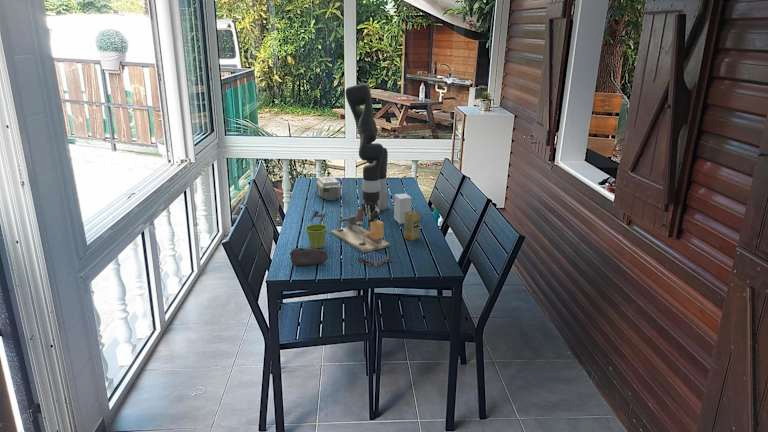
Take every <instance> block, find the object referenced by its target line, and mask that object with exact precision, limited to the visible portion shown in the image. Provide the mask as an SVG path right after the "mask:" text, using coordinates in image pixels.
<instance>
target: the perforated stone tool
mask: <svg viewBox="0 0 768 432" xmlns="http://www.w3.org/2000/svg"><path fill="white" fill-rule="evenodd" d="M289 254H290V255H289V256H290V257H289V259H290V262H291V264H292V265H293V266H311V265H317V264H322V263H325V262H326V261H327V260H328V259H329V255H328V253H327V252H326V251H324V250H322V249H321V248H316V249H314V248H311V247H309V248H308V247H305V248H304V247H297V248H292V250H291V252H289Z"/></svg>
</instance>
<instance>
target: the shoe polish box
mask: <svg viewBox="0 0 768 432" xmlns="http://www.w3.org/2000/svg"><path fill="white" fill-rule="evenodd" d="M420 220H421V213H420V212H418V211H414V210H411V211H409V212H406V213H404V223H403V225H404V226H403V227H404V228H403V238H404V239H407V240H409V241H414V240H417V239H419V238H420V226H421V224H420V222H421V221H420Z"/></svg>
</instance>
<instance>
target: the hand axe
mask: <svg viewBox="0 0 768 432" xmlns="http://www.w3.org/2000/svg"><path fill="white" fill-rule="evenodd" d="M357 212H358V213H357V215H356V225H358V226H360V227H363V225H364V223H363V221H362V219H363V218H362V216H363V212H364V211H363V208H362V207H361V208H359V209H358V210H357ZM346 227H348V224H347V226H346Z"/></svg>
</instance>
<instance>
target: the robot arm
mask: <svg viewBox="0 0 768 432" xmlns="http://www.w3.org/2000/svg"><path fill="white" fill-rule="evenodd" d="M345 98H346V100H347V101H346V102H347V104H348V105H349V108H350V110H351V113H352V115H353V116H352V117H353V118H354V121H355V125H356V126H355V127H356V129H357V132H358V136H359V141H360V142H359V149H358V156H359V158H360V159H361V160H362V161H364V162H365V161H366V162H367V165H364V166H363V168H362V187H361V188H362V192H361V193H362V200H363V201H364V203H361V209H362V208H363V211H362V212H363V214H364V216H365V217H366V219H367V226H368V228H370V222H372V221H375V220H377V219H378V218H379V216H380V214H381V213H382V211H385V210H386V209H388V206H389V202H388V201H389V200H388V199H389V198H388V197H389V196H388V195H389V192H388V190H387V174H388V173H387V172H388V158H389V157H388V155H389V154H388V153H389V152H388V149H387V148H386V147H384V146H383V145H382V143H377V142H376V143H374V142H375V141H376V140H377V135H378V126H377V124H376V121H375V119H374V113H373V112H374V110H373V109H374V108H373V99H372V93H371V89H370V87H369V85H368V84H367V83H365V82H363V83H360V84H355V85H351V86H348V87H347V88H346V89H345ZM363 105H364V108H363V109H364V110H363V109H361V108H360V106H363Z"/></svg>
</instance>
